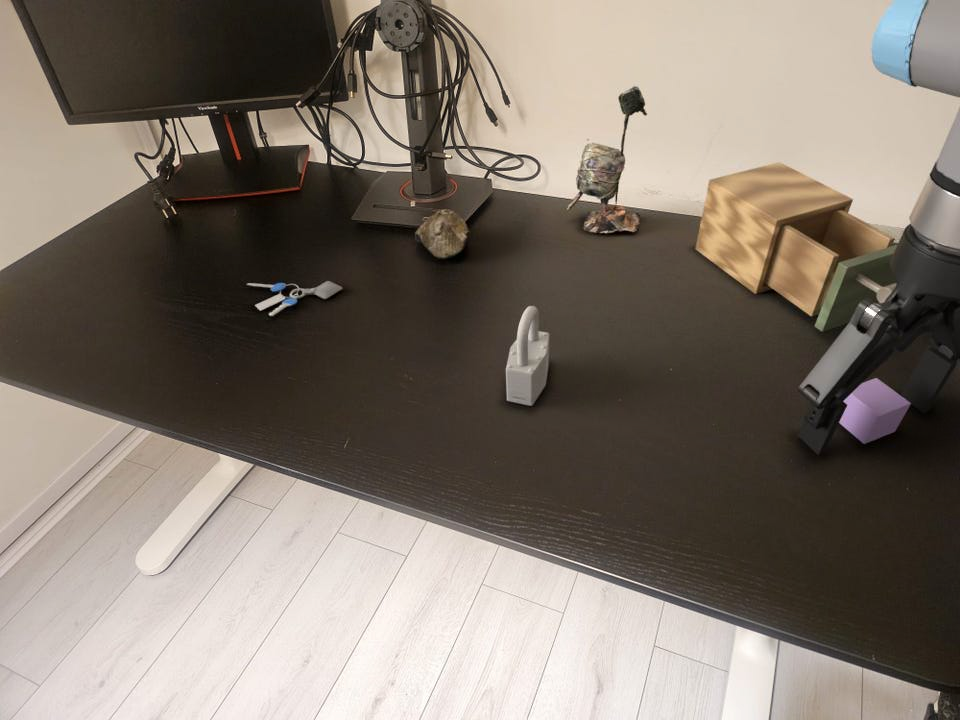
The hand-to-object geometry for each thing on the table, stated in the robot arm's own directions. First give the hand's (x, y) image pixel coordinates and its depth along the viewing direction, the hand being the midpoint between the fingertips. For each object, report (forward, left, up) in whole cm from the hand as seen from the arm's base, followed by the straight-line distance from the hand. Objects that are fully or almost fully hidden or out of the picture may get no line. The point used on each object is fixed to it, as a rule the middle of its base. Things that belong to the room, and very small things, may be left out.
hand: (863, 423), depth 62 cm
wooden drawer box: (-1, -31, 0) cm, 31 cm away
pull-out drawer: (-6, -19, +1) cm, 19 cm away
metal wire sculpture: (+18, -44, 0) cm, 48 cm away
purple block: (0, 0, 0) cm, 0 cm away
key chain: (+64, -28, 0) cm, 70 cm away
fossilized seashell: (+43, -40, 0) cm, 59 cm away
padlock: (+33, -9, 0) cm, 34 cm away
